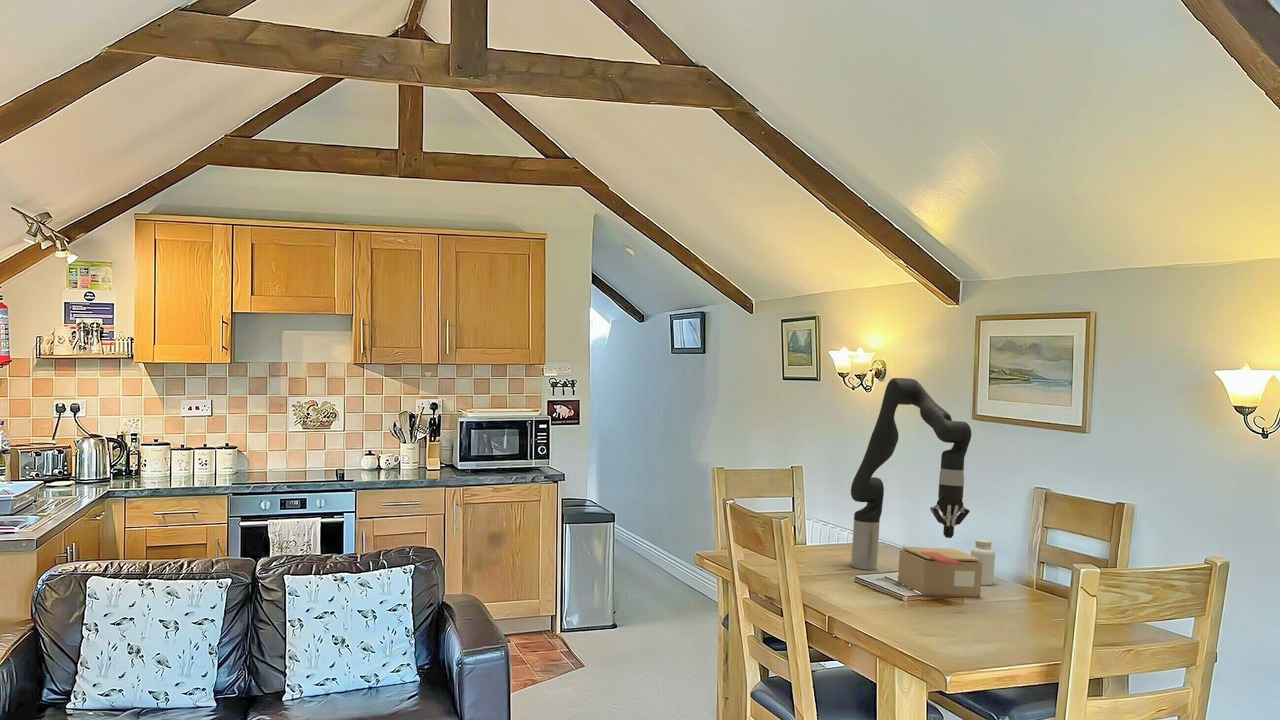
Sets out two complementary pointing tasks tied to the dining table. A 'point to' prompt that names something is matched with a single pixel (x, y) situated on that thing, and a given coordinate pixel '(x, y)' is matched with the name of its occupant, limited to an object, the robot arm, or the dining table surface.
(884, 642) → the dining table surface
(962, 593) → the carton
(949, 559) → the flap
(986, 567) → the pill bottle
